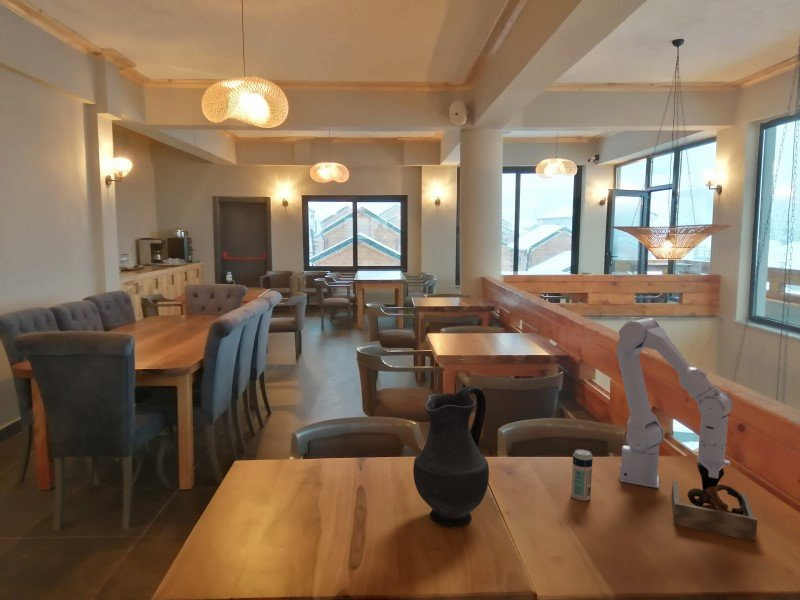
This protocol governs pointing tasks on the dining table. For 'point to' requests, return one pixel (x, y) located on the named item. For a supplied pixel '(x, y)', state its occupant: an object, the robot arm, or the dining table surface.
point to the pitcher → (453, 458)
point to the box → (714, 518)
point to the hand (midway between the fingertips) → (708, 494)
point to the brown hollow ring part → (716, 498)
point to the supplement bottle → (581, 475)
